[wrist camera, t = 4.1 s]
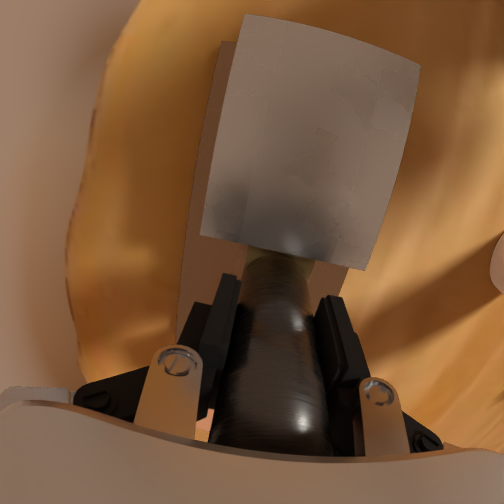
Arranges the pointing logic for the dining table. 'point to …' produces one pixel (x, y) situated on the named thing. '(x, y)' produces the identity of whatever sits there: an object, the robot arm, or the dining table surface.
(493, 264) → the cylindrical container
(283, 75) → the brown wooden base board
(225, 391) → the sliding bolt with handle
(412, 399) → the dining table surface
